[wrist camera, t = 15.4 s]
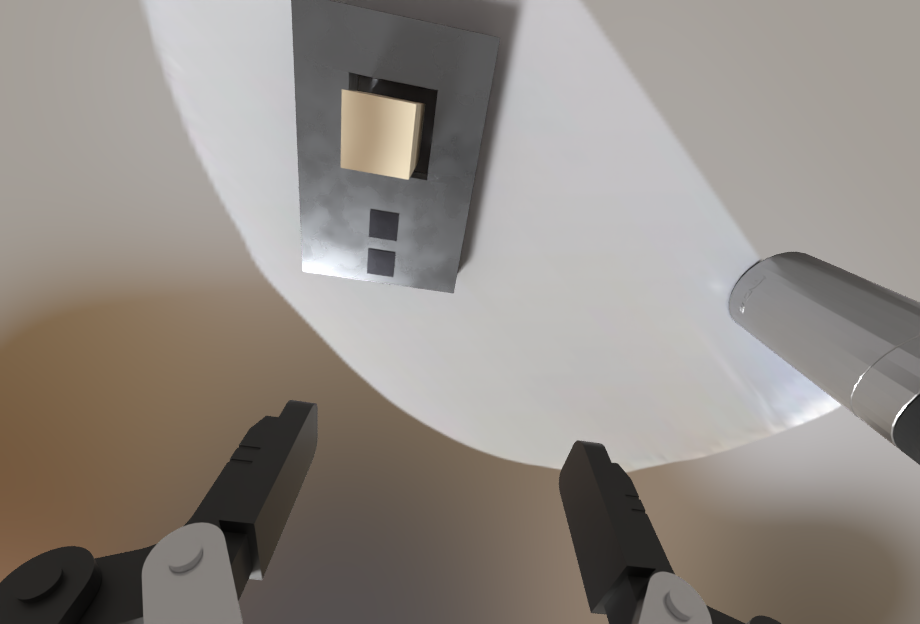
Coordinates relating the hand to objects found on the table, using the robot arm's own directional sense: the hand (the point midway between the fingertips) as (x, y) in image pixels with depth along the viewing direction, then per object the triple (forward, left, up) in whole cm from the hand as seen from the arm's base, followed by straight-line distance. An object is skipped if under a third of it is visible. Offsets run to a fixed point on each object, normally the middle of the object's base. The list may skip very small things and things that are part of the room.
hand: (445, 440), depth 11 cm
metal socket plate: (+6, -3, -27) cm, 27 cm away
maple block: (+5, -6, -27) cm, 28 cm away
